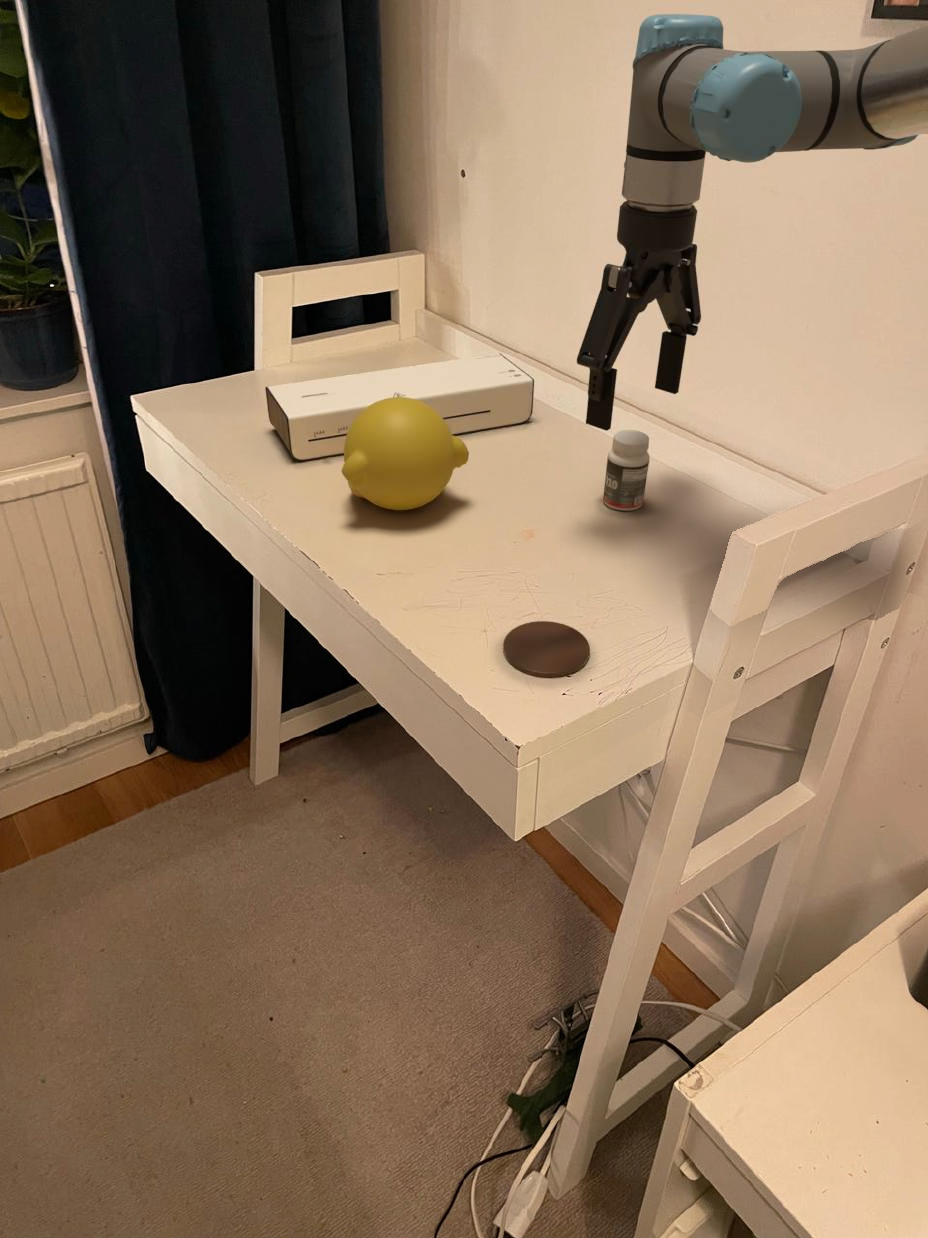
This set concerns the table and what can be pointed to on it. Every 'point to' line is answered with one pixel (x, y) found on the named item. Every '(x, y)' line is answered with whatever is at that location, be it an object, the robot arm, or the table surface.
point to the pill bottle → (626, 471)
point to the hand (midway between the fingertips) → (633, 407)
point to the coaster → (546, 649)
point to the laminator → (452, 388)
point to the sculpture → (400, 454)
